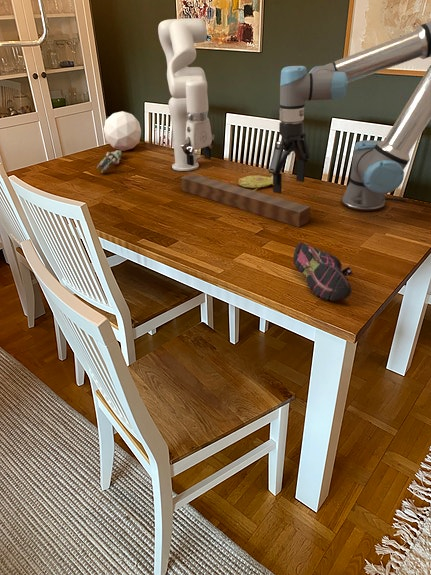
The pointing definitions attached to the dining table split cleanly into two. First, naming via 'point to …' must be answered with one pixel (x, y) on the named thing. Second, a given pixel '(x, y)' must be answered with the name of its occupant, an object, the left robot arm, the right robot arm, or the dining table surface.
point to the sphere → (122, 131)
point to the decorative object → (255, 181)
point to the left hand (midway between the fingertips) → (199, 161)
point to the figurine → (110, 160)
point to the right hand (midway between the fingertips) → (289, 186)
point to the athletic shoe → (322, 272)
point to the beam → (247, 200)
